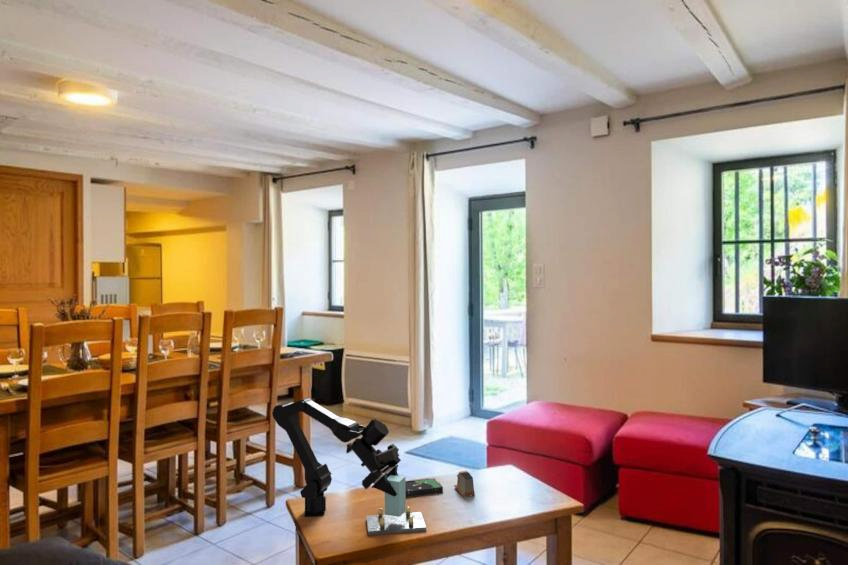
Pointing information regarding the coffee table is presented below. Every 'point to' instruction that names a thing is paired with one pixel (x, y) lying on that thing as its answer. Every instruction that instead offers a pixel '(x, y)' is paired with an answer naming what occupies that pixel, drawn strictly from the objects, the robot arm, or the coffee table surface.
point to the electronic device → (465, 484)
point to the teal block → (396, 497)
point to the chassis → (395, 523)
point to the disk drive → (422, 487)
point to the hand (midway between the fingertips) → (399, 492)
